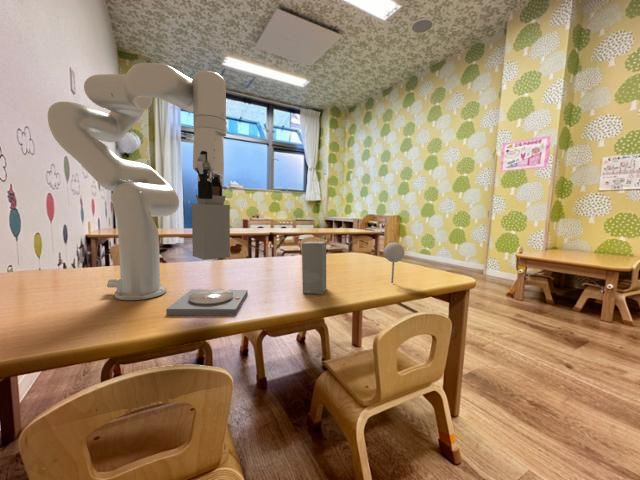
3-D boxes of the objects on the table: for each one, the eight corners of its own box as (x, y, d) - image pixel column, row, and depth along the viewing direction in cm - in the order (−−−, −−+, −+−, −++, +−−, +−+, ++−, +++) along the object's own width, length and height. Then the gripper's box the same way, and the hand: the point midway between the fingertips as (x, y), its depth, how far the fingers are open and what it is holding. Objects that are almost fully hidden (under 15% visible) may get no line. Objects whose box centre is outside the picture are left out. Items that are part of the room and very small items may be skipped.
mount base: (166, 315, 66) (166, 304, 66) (191, 294, 82) (191, 286, 82) (235, 315, 68) (235, 305, 67) (247, 294, 84) (247, 286, 83)
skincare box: (322, 295, 85) (324, 243, 83) (299, 293, 87) (300, 242, 85) (327, 288, 93) (328, 240, 92) (306, 286, 95) (307, 239, 93)
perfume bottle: (229, 257, 74) (229, 187, 72) (204, 259, 69) (203, 185, 67) (217, 253, 78) (216, 187, 76) (192, 256, 73) (191, 185, 71)
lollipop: (404, 286, 99) (407, 244, 97) (384, 285, 99) (386, 243, 97) (399, 281, 106) (401, 241, 104) (380, 280, 106) (382, 240, 104)
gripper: (205, 135, 78) (206, 199, 80) (179, 115, 61) (181, 197, 63) (233, 137, 79) (233, 200, 81) (215, 117, 62) (216, 198, 64)
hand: (210, 198), depth 72 cm, fingers closed on perfume bottle, 7 cm apart
